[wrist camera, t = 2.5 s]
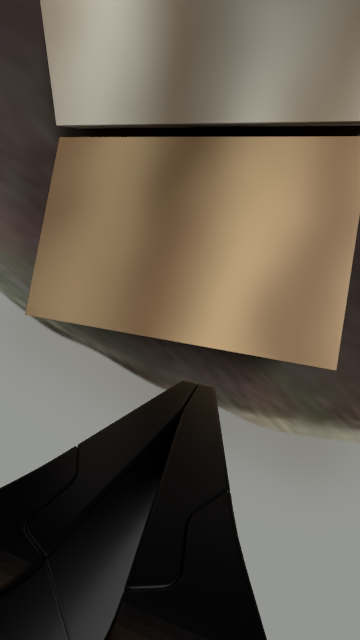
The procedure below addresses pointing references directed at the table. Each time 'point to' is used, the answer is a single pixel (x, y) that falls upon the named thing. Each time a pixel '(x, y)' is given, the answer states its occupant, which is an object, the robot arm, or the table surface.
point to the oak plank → (203, 241)
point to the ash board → (203, 62)
